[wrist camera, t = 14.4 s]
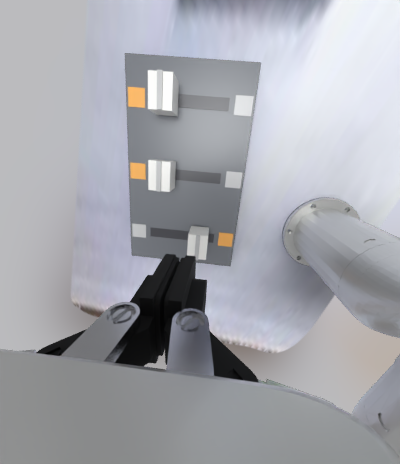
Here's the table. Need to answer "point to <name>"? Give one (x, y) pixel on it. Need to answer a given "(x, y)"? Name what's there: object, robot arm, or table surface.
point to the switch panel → (189, 153)
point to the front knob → (163, 92)
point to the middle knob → (161, 175)
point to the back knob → (198, 242)
